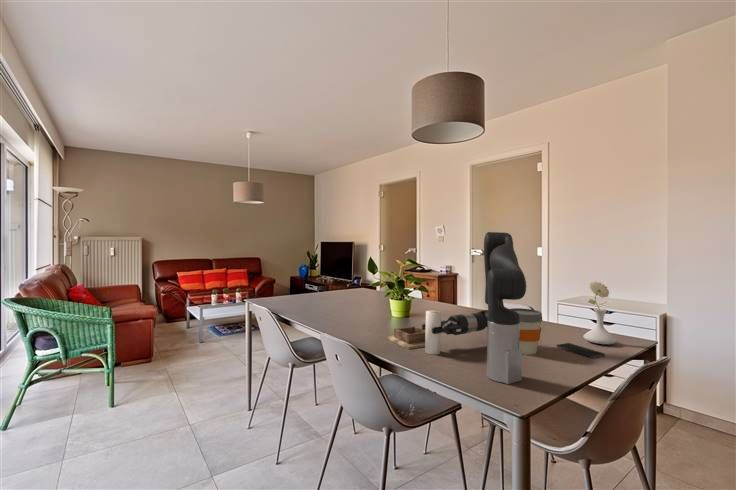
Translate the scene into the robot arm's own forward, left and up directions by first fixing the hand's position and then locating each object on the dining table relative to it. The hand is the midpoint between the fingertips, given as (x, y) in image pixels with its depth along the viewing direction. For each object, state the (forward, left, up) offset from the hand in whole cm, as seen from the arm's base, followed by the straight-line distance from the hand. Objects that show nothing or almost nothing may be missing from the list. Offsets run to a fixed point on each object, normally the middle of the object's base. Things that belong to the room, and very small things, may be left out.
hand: (427, 328), depth 133 cm
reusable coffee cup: (-14, -35, -9) cm, 38 cm away
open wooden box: (+15, -4, -9) cm, 18 cm away
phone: (-24, -54, -10) cm, 59 cm away
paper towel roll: (0, -3, -9) cm, 9 cm away
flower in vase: (-20, -73, -9) cm, 76 cm away
